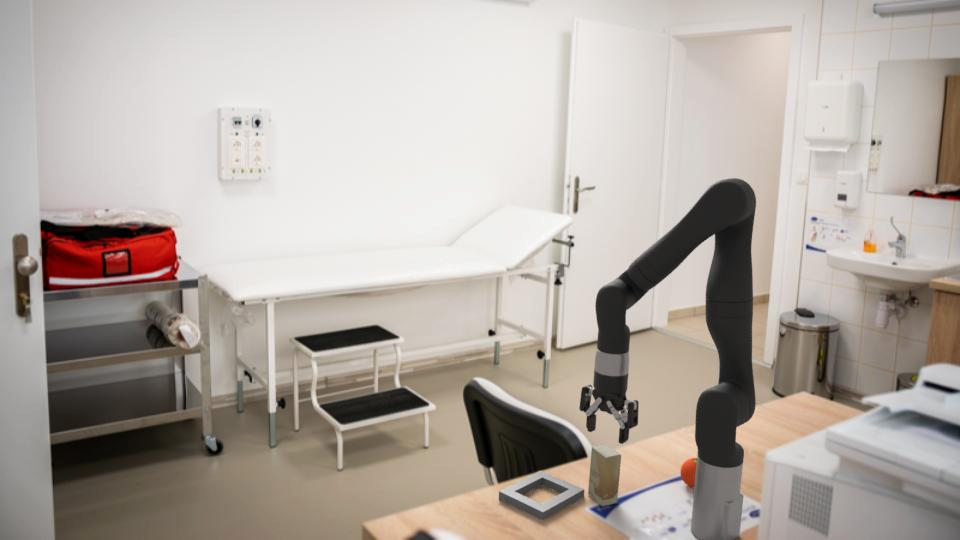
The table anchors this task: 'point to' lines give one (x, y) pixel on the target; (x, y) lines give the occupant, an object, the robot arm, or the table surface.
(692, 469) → the clementine
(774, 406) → the table surface
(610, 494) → the skincare box
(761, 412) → the table surface
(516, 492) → the holder
